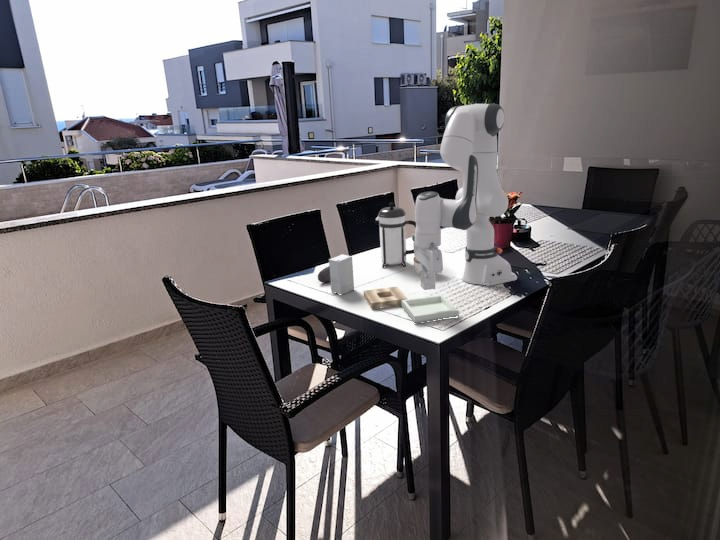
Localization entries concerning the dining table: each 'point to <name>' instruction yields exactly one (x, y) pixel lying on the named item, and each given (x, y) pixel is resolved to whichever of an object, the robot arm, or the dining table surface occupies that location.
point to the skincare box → (341, 274)
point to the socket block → (384, 297)
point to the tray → (429, 308)
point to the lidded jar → (417, 266)
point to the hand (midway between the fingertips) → (428, 277)
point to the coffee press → (393, 235)
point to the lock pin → (426, 281)
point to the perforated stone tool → (324, 275)
